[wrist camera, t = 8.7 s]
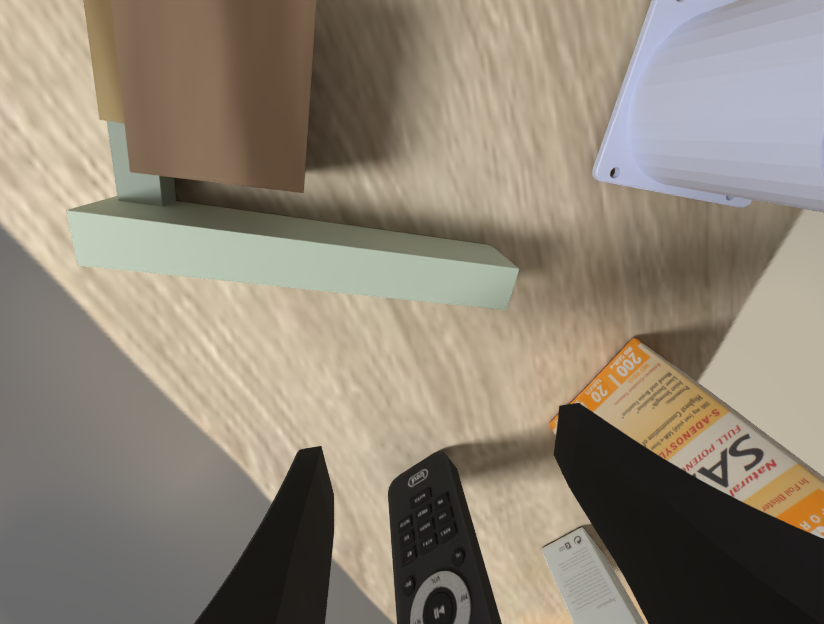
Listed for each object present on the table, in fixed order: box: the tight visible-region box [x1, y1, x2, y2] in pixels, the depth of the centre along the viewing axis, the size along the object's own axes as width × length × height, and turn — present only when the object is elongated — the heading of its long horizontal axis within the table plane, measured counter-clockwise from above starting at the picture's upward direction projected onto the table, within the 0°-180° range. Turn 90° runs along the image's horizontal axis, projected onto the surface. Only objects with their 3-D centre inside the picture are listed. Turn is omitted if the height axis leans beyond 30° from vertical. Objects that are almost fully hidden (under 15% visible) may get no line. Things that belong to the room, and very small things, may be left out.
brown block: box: [84, 0, 317, 193], centre depth 13 cm, size 4×6×6 cm
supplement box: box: [549, 338, 824, 539], centre depth 20 cm, size 8×5×13 cm, turn 145°
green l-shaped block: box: [66, 121, 519, 310], centre depth 16 cm, size 17×8×4 cm, turn 80°
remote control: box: [388, 451, 502, 624], centre depth 19 cm, size 5×2×15 cm, turn 126°
